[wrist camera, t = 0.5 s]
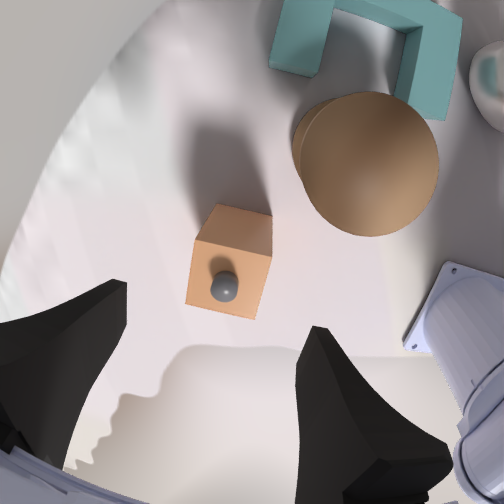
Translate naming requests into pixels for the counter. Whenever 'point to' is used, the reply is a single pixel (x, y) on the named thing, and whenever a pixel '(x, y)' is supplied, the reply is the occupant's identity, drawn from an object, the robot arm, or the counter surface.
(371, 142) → the bobbin
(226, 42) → the counter surface
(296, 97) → the counter surface
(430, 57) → the notch board
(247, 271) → the plug
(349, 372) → the robot arm
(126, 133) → the counter surface
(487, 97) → the plastic bottle
